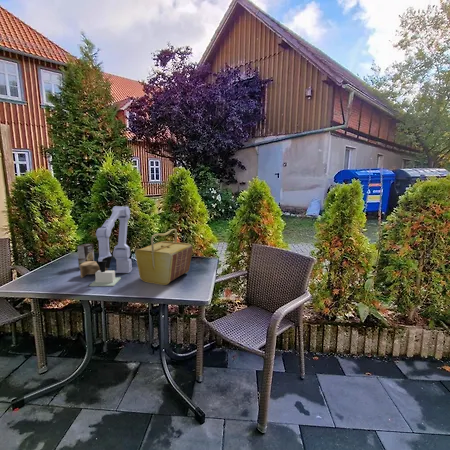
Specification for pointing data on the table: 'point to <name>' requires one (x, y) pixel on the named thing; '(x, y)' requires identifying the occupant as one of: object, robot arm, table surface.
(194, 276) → the table surface
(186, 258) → the picnic basket
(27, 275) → the table surface
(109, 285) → the pale green panel
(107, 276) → the cream block
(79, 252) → the coffee box
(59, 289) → the table surface
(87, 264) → the wooden box
